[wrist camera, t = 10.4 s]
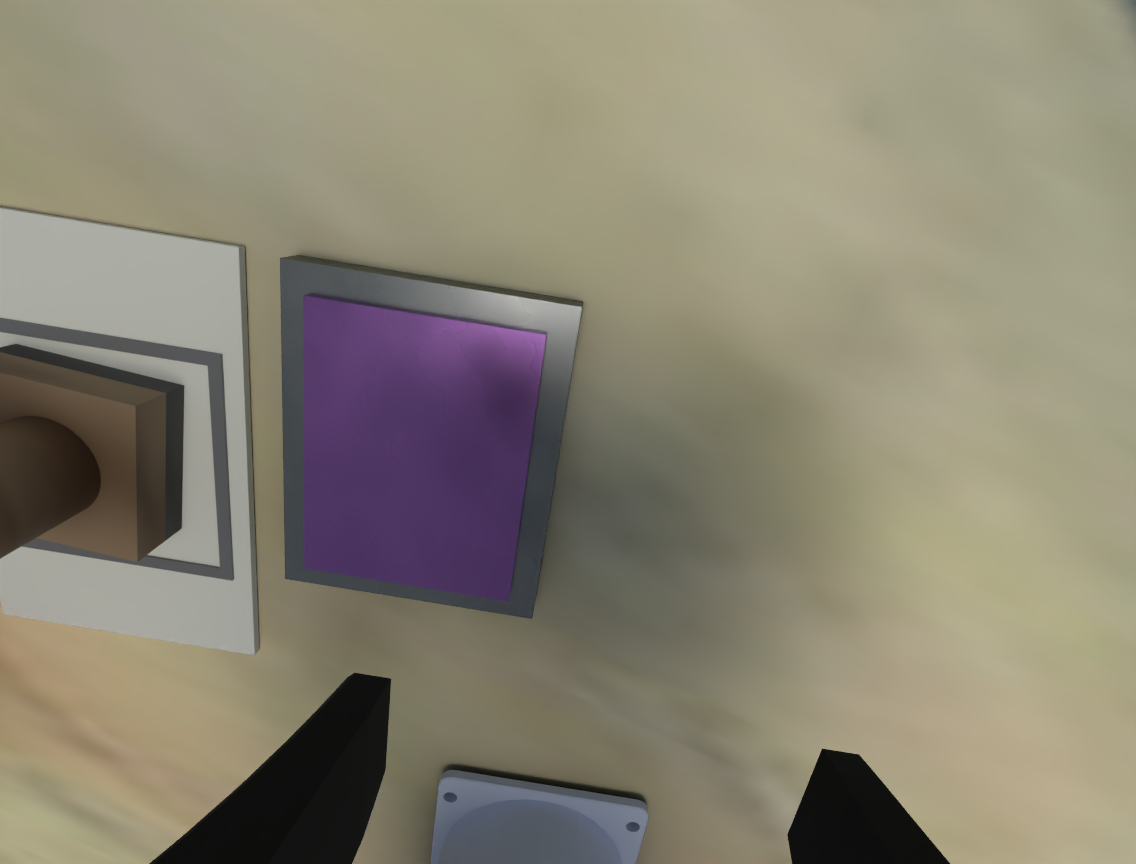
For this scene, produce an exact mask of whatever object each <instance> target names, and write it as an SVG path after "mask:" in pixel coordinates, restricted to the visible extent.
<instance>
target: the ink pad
mask: <svg viewBox="0 0 1136 864" xmlns="http://www.w3.org/2000/svg"><path fill="white" fill-rule="evenodd" d="M280 284H281V346H282V408H283V470H284V532H285V579H291V580H297V581H303V582H309V583H315V584H322V585H328V586H334V587H340V588H346V589H352V590H358V591H365V592H371V593H377V594H383V595H389V596H395V597H402V598H408V599H414V600H420V601H426V602H432V603H438V604H445V605H451V606H457V607H463V608H469V609H475V610H482V611H488V612H494V613H500V614H506V615H512V616H519V617H525V618H531V619H532V617H533V611H534V606H535V600H536V594H537V587H538V581H539V575H540V569H541V562H542V556H543V550H544V544H545V537H546V531H547V525H548V519H549V512H550V506H551V500H552V494H553V487H554V481H555V475H556V468H557V462H558V456H559V450H560V443H561V437H562V431H563V425H564V418H565V412H566V406H567V400H568V393H569V387H570V381H571V375H572V368H573V362H574V356H575V350H576V343H577V337H578V331H579V325H580V318H581V312H582V306H583V302H582V301H576V300H570V299H564V298H558V297H552V296H545V295H539V294H533V293H527V292H521V291H515V290H509V289H503V288H496V287H490V286H484V285H478V284H472V283H466V282H460V281H454V280H447V279H441V278H435V277H429V276H423V275H417V274H411V273H405V272H398V271H392V270H386V269H380V268H374V267H368V266H362V265H356V264H349V263H343V262H337V261H331V260H325V259H319V258H313V257H306V256H300V255H296V256H289V257H283V258H280Z"/></svg>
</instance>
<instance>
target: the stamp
mask: <svg viewBox="0 0 1136 864" xmlns="http://www.w3.org/2000/svg"><path fill="white" fill-rule="evenodd" d="M183 435H184V385H181V384H177V383H173V382H168V381H164V380H160V379H156V378H152V377H148V376H144V375H140V374H136V373H132V372H128V371H124V370H120V369H116V368H112V367H108V366H104V365H100V364H96V363H92V362H88V361H84V360H80V359H76V358H72V357H68V356H64V355H60V354H56V353H52V352H48V351H44V350H40V349H36V348H32V347H28V346H24V345H20V344H13V345H8V346H4V347H0V559H1V558H2V557H4V556H6V555H8V554H9V553H11V552H13V551H14V550H16V549H18V548H20V547H21V546H23V545H25V544H26V543H28V542H30V541H32V540H33V539H35V538H38V539H43V540H47V541H51V542H55V543H59V544H64V545H68V546H72V547H76V548H80V549H85V550H89V551H93V552H97V553H101V554H106V555H110V556H114V557H118V558H122V559H127V560H131V561H135V562H138V561H140V560H141V559H142V558H143V557H145V556H146V555H147V554H149V553H150V552H151V551H153V550H154V549H155V548H157V547H158V546H159V545H161V544H162V543H163V542H165V541H166V540H167V539H169V538H170V537H171V536H172V535H174V534H175V533H176V532H178V531H179V530H180V529H182V489H183Z"/></svg>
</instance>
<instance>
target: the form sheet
mask: <svg viewBox="0 0 1136 864" xmlns="http://www.w3.org/2000/svg"><path fill="white" fill-rule="evenodd" d="M13 344H20V345H24V346H28V347H32V348H36V349H40V350H44V351H48V352H52V353H56V354H60V355H64V356H68V357H72V358H76V359H80V360H84V361H88V362H92V363H96V364H100V365H104V366H108V367H112V368H116V369H120V370H124V371H128V372H132V373H136V374H140V375H144V376H148V377H152V378H156V379H160V380H164V381H168V382H173V383H177V384H181V385H184V435H183V489H182V529H180V530H179V531H178V532H176V533H175V534H174V535H172V536H171V537H170V538H169V539H167V540H166V541H165V542H163V543H162V544H161V545H159V546H158V547H157V548H155V549H154V550H153V551H151V552H150V553H149V554H147V555H146V556H145V557H143V558H142V559H141V560H140V561H138V562H135V561H131V560H127V559H122V558H118V557H114V556H110V555H106V554H101V553H97V552H93V551H89V550H85V549H80V548H76V547H72V546H68V545H64V544H59V543H55V542H51V541H47V540H43V539H38V538H35V539H33V540H32V541H30V542H28V543H26V544H25V545H23V546H21V547H20V548H18V549H16V550H14V551H13V552H11V553H9V554H8V555H6V556H4V557H2V558H1V559H0V601H1V606H2V611H3V614H4V615H10V616H16V617H22V618H28V619H34V620H41V621H47V622H53V623H59V624H65V625H71V626H77V627H84V628H90V629H96V630H102V631H108V632H114V633H121V634H127V635H133V636H139V637H145V638H151V639H158V640H164V641H170V642H176V643H182V644H188V645H195V646H201V647H207V648H213V649H219V650H225V651H232V652H238V653H244V654H250V655H255V654H256V653H257V652H258V650H259V629H258V601H257V574H256V546H255V518H254V490H253V462H252V435H251V407H250V379H249V351H248V323H247V296H246V268H245V246H239V245H233V244H227V243H221V242H215V241H208V240H202V239H196V238H190V237H184V236H178V235H172V234H166V233H159V232H153V231H147V230H141V229H135V228H129V227H123V226H116V225H110V224H104V223H98V222H92V221H86V220H80V219H74V218H67V217H61V216H55V215H49V214H43V213H37V212H31V211H25V210H18V209H12V208H6V207H0V347H4V346H8V345H13Z"/></svg>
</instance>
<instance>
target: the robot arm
mask: <svg viewBox="0 0 1136 864" xmlns="http://www.w3.org/2000/svg"><path fill="white" fill-rule="evenodd" d="M390 687H391V679H390V678H384V677H377V676H371V675H365V674H359V673H354V674H352V675H350V676H349V677H347V678H346V680H345V681H344V682H343V683H342V684H341V685H340V686H339V687H338V688H337V689H336V691H335V692H334V693H333V694H332V695H331V696H330V697H329V698H328V699H327V700H326V701H325V702H324V703H323V704H322V705H321V707H320V708H319V709H318V710H317V711H316V712H315V713H314V714H313V715H312V716H311V717H310V718H309V719H308V720H307V721H306V722H305V723H304V724H303V725H302V726H301V727H300V728H299V729H298V730H297V731H296V732H295V733H294V734H293V735H292V736H291V737H290V738H289V739H288V740H287V741H286V742H285V743H284V744H283V745H282V746H281V747H280V748H279V749H278V750H277V751H276V752H275V753H274V754H273V755H272V756H270V757H269V758H268V759H267V760H266V761H265V762H264V763H263V764H262V765H261V766H260V767H259V768H258V769H257V770H256V771H255V772H254V773H253V774H252V775H251V776H250V777H249V778H248V779H246V780H245V781H244V782H243V783H242V784H241V785H240V786H239V787H238V788H237V789H236V790H234V791H233V792H232V793H231V794H230V795H229V796H228V797H227V798H225V799H224V800H223V801H222V802H221V803H220V804H219V805H217V806H216V807H215V808H214V809H213V810H212V811H211V812H209V813H208V814H207V815H206V816H205V817H204V818H203V819H202V820H200V821H199V822H198V823H197V824H196V825H195V826H194V827H192V828H191V829H190V830H189V831H188V832H187V833H186V834H184V835H183V836H182V837H181V838H180V839H179V840H177V841H176V842H175V843H174V844H173V845H171V846H170V847H169V848H168V849H167V850H165V851H164V852H163V853H162V854H160V855H159V856H158V857H157V858H156V859H154V860H153V861H152V862H151V863H149V864H352V862H353V860H354V858H355V855H356V853H357V851H358V848H359V846H360V844H361V841H362V839H363V836H364V833H365V830H366V827H367V824H368V821H369V818H370V815H371V812H372V810H373V807H374V803H375V800H376V797H377V794H378V791H379V788H380V785H381V782H382V779H383V776H384V772H385V768H386V752H387V736H388V719H389V703H390ZM647 822H648V807H647V805H646V804H645V803H644V802H642V801H640V800H637V799H631V798H625V797H618V796H612V795H606V794H600V793H594V792H588V791H581V790H575V789H569V788H563V787H557V786H551V785H544V784H538V783H532V782H526V781H520V780H514V779H507V778H501V777H495V776H489V775H483V774H477V773H470V772H464V771H458V770H448V771H445V772H444V773H443V774H442V775H441V778H440V781H439V785H438V795H437V804H436V814H435V823H434V833H433V842H432V852H431V861H430V864H636V861H637V857H638V854H639V850H640V846H641V843H642V839H643V836H644V832H645V829H646V825H647ZM788 841H789V847H790V853H791V859H792V864H950V863H949V862H948V861H947V859H946V858H945V857H944V856H943V855H942V853H941V852H940V851H939V850H938V849H937V847H936V846H935V845H934V844H933V843H932V841H931V840H930V839H929V838H928V837H927V835H926V834H925V833H924V832H923V831H922V829H921V828H920V827H919V826H918V825H917V823H916V822H915V821H914V820H913V819H912V817H911V816H910V815H909V814H908V813H907V811H906V810H905V809H904V808H903V807H902V805H901V804H900V803H899V802H898V800H897V799H896V798H895V797H894V796H893V794H892V793H891V792H890V791H889V790H888V788H887V787H886V786H885V785H884V784H883V782H882V781H881V780H880V779H879V778H878V776H877V775H876V774H875V773H874V772H873V770H872V769H871V768H870V767H869V766H868V765H867V763H866V762H865V761H864V760H863V759H862V758H861V757H860V755H858V754H852V753H846V752H839V751H833V750H827V749H822V751H821V753H820V756H819V758H818V760H817V763H816V765H815V768H814V770H813V773H812V775H811V778H810V780H809V783H808V785H807V788H806V790H805V793H804V795H803V798H802V800H801V803H800V805H799V808H798V810H797V812H796V815H795V817H794V820H793V822H792V825H791V827H790V830H789V832H788Z"/></svg>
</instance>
